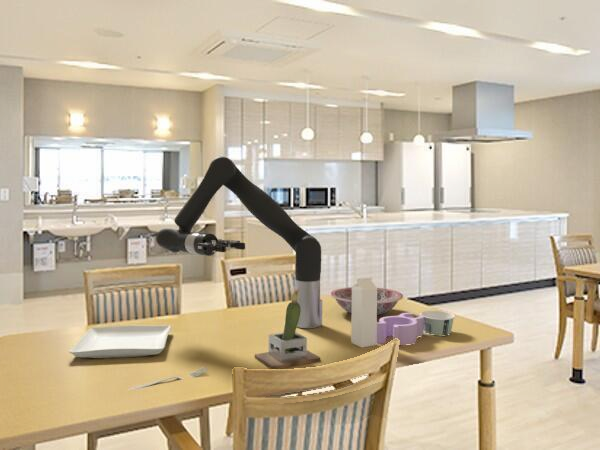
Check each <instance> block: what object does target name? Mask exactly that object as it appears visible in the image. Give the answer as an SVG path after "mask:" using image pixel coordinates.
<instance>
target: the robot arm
mask: <svg viewBox="0 0 600 450" xmlns="http://www.w3.org/2000/svg"><path fill="white" fill-rule="evenodd" d="M223 186H224V187H225V188H227V189H228V190H229V191H230V192H232V194H234V195H235V196H236V197H237V198H238V199H239V201H240V202H241V203H242V204H243V206H244V207H245V208H246V209H247V210H248V212H249V213H250V214H251V215H253V217H254V218H256V219H257V220H258V221H259V222H260V223H261V224H263V225H264V226H265V227H266V228H268V229H269V230H271V231H272V232H274V233H275V234H276V235H278V236H280V237H281V238H282V239H283V240H284V241H285V242H286V243H287V244H288V246H290V247H291V248H292V250H293V251H294V252H295V273H294V275H295V276H294V278H295V279H294V283H295V284H294V286H295V287H294V288H295V290H299V291H298V301H297V302H298V303H299V305H300V309H301V311H300V317H299V321H298V324H297V327H296V328H300V329H301V328H302V329H314V328H319V327H320V326H323V300H322V299H321V273H322V246H321V244H320V242H319V241H318V239H317V238H316V237H314V236H313V235H311V234H310V233H309V232H307V231H305V230H304V229H303V228H302V227H301V226H300V225H298V224H297V223H296V222H295V221H294V220H293V218H291V216H290V215H289V214H288V213H287V212H286V210H285V209H284V208H283V207H282V206H281V205H280V204H279V203H278V202H277V201H276V200H274V199H273V197H271V195H270V194H268V193H267V192H265V191H264V190H263V189H261V188H260V187H259V186H257V185H256V184H255V183H253V182H252V181H250V179H248V178H247V176H245V175H244V174H243V172H241V171H240V169H239V168H238V167H237V166H236V164H235V163H234V162H233V160H231V159H230V158H229V157H226V156H218V157H215V158H213V159H212V160H211V162H210V164H209V166H208V169H207V170H206V173H205V175H204V177H203V178H202V181H201V182H200V184H199V185H198V186H197V187H196V189H195V190H194V192H193V194H192V195H191V196H190V197H189V199H188V200H187V201H186V202H185V204H184V205H183V206H182V208H181V209H180V211H179V212H178V213H177V215H176V216H175V218H174V220H173V221H174V223H175V225H176V226H177V227H178V229H175V228H171V227H165V228H161V229H160V230H159V231H158V232H157V234H156V237H155V240H156V243H157V244H158V246H159V247H161V248H163V249H165V250H167V251H169V252H171V253H174V254H177V253H179V252H182V253H187V254H189V253H190V254H194V255H199V256H200V255H201V256H205V257H210V256H213V255H215V254H216V253H217V252H219V253H226V252H227V251H231V250H243V251H244V250H245V249H246V243H245V242H241V240H233V239H222V238H218V237H217V236H216V235H215V234H213V233H208V232H199V231H198V232H192V230H193V227H194V226H195V225H196V223H197V222H198V221H199V219H200V218H201V216H202V215H203V213H204V212H205V210H206V209H207V207H208V205H209V204H210V202H211V200H212V198H213V197H214V196H215V195H216V194H217V192H218V191H219V190H220V189H221V188H222V187H223Z"/></svg>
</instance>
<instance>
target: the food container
mask: <svg viewBox="0 0 600 450" xmlns="http://www.w3.org/2000/svg"><path fill="white" fill-rule="evenodd" d="M419 315H423V316H424V329H423V332H424V331H425V332H426V333H429V334H434V335H448V334H450V333H452V330H453V329H452V328H453V325H454V320H455V318H456V315H455V314H454V313H452V312H448V311H444V310H423V311H422V312H420V314H419ZM426 333H425V334H426ZM450 335H451V334H450ZM448 336H449V335H448Z"/></svg>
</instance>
